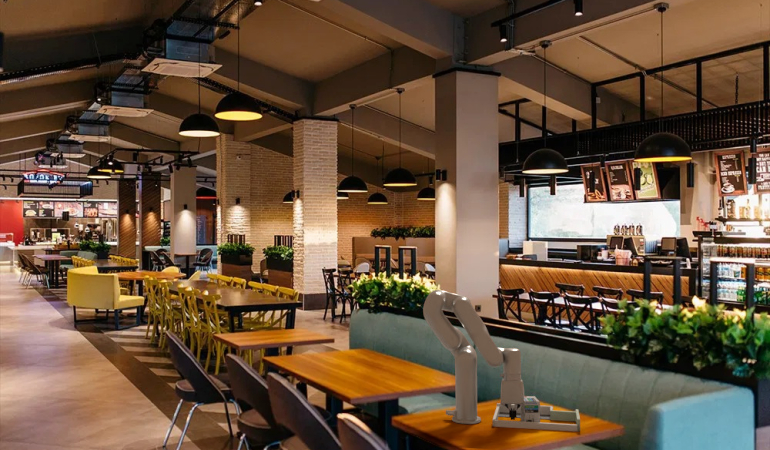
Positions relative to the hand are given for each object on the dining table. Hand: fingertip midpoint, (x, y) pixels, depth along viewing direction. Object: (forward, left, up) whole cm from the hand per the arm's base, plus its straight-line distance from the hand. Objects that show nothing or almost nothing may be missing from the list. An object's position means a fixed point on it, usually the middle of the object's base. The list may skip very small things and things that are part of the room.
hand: (512, 419), depth 298 cm
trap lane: (+10, +4, -1) cm, 11 cm away
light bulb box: (+7, 0, -2) cm, 8 cm away
